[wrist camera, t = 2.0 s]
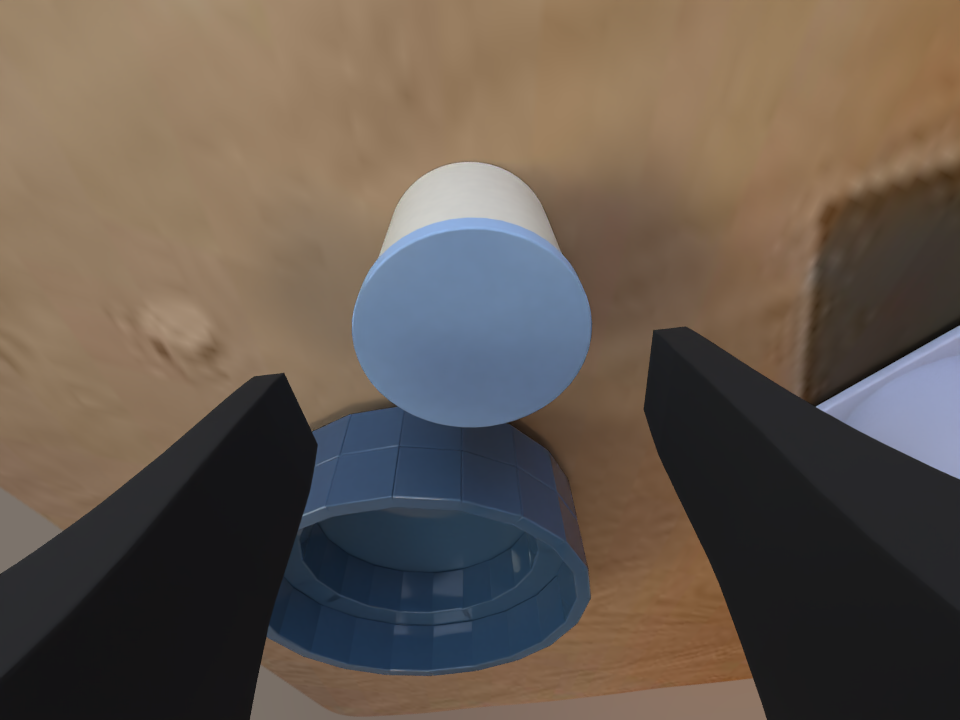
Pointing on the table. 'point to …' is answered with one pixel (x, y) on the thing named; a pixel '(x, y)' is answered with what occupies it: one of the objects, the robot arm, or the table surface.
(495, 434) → the bowl
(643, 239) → the table surface
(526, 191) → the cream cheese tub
